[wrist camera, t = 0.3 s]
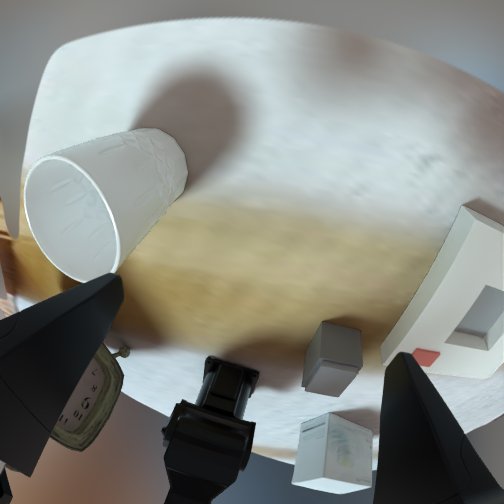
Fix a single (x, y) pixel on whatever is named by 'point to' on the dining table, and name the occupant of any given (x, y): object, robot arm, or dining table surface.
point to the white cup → (102, 198)
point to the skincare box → (334, 455)
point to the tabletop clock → (90, 401)
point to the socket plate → (457, 305)
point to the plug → (332, 359)
